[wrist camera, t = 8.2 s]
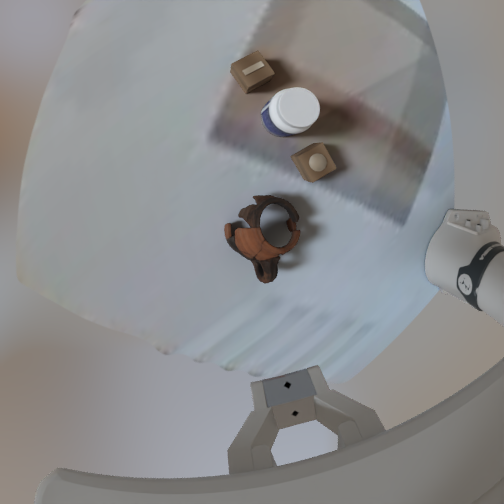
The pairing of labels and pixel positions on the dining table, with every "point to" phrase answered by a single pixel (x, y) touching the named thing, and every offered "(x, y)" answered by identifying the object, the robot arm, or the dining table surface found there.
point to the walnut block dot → (313, 162)
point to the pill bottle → (290, 112)
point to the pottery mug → (262, 237)
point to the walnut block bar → (251, 71)
